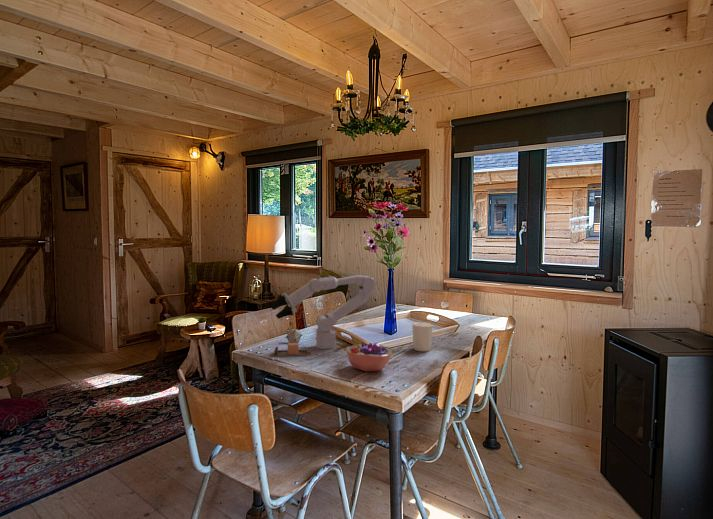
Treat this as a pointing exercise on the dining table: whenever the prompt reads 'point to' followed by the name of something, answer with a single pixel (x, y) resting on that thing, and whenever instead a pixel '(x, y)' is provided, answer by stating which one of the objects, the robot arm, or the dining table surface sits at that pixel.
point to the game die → (293, 335)
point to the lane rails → (290, 355)
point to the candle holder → (422, 336)
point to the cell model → (368, 356)
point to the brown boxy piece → (287, 352)
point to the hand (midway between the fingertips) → (274, 312)
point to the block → (292, 348)
